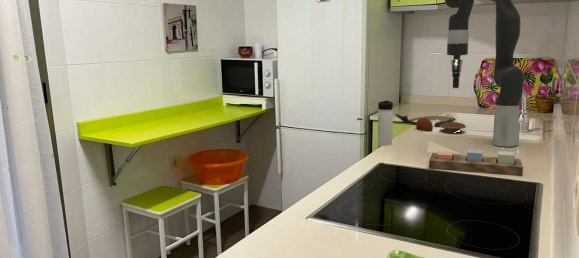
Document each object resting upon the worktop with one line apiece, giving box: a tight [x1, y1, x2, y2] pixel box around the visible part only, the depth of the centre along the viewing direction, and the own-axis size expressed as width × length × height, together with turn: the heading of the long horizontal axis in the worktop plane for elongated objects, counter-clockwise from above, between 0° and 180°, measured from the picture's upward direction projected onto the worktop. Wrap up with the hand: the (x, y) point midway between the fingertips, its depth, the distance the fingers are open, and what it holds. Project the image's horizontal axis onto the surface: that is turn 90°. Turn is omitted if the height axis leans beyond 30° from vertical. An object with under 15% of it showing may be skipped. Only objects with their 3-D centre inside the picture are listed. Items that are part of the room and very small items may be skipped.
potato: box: [415, 118, 434, 132], centre depth 227 cm, size 8×12×8 cm
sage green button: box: [497, 150, 516, 164], centre depth 157 cm, size 5×5×3 cm
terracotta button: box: [437, 150, 454, 160], centre depth 165 cm, size 5×5×3 cm
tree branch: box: [394, 113, 457, 127], centre depth 244 cm, size 22×30×8 cm
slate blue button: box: [466, 149, 484, 162], centre depth 161 cm, size 5×5×3 cm
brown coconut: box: [439, 121, 467, 134], centre depth 220 cm, size 12×12×6 cm
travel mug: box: [377, 100, 394, 147], centre depth 197 cm, size 6×7×20 cm
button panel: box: [428, 152, 524, 177], centre depth 161 cm, size 30×12×3 cm, turn 67°
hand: (455, 88), depth 175 cm, fingers closed
